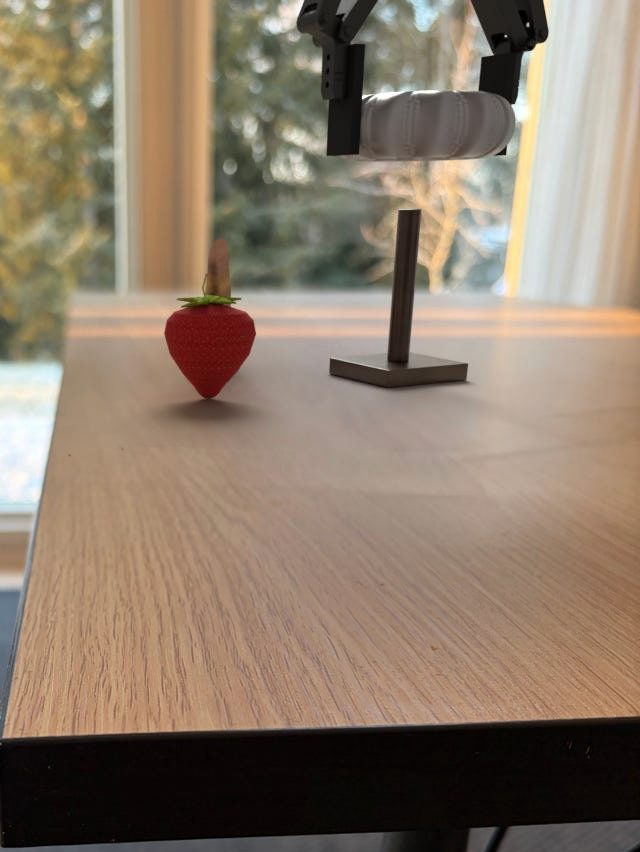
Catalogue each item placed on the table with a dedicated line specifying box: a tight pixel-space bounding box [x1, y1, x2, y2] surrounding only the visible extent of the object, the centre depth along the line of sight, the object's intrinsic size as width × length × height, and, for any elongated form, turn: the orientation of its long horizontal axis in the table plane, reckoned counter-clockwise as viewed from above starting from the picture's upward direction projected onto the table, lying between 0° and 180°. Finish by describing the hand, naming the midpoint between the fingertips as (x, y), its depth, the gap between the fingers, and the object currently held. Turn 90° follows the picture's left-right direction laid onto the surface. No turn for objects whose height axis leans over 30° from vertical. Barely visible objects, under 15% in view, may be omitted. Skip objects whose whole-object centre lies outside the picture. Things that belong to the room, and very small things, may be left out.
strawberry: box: [163, 272, 257, 400], centre depth 86 cm, size 6×8×10 cm
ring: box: [341, 89, 517, 163], centre depth 74 cm, size 12×12×4 cm
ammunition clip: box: [204, 236, 232, 307], centre depth 100 cm, size 11×2×12 cm, turn 172°
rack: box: [328, 208, 469, 388], centre depth 96 cm, size 9×9×14 cm
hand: (418, 156), depth 74 cm, fingers closed on ring, 12 cm apart
